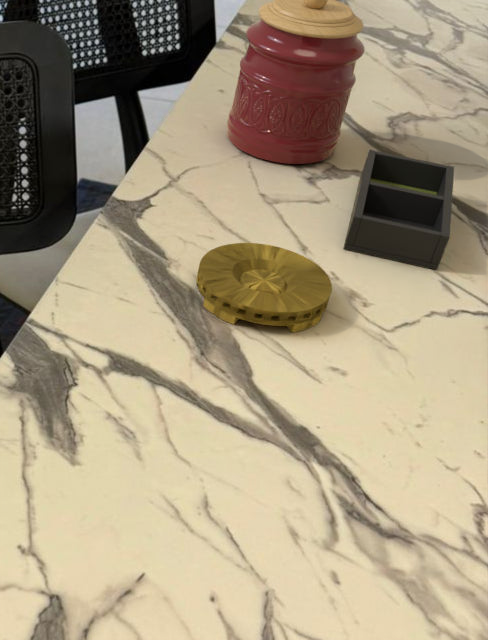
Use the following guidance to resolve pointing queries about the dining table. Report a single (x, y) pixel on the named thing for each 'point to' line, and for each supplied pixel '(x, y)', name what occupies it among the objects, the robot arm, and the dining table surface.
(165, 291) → the dining table surface
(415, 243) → the pad holder
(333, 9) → the kitchen canister
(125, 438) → the dining table surface
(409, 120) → the dining table surface
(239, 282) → the gold flat round disc
